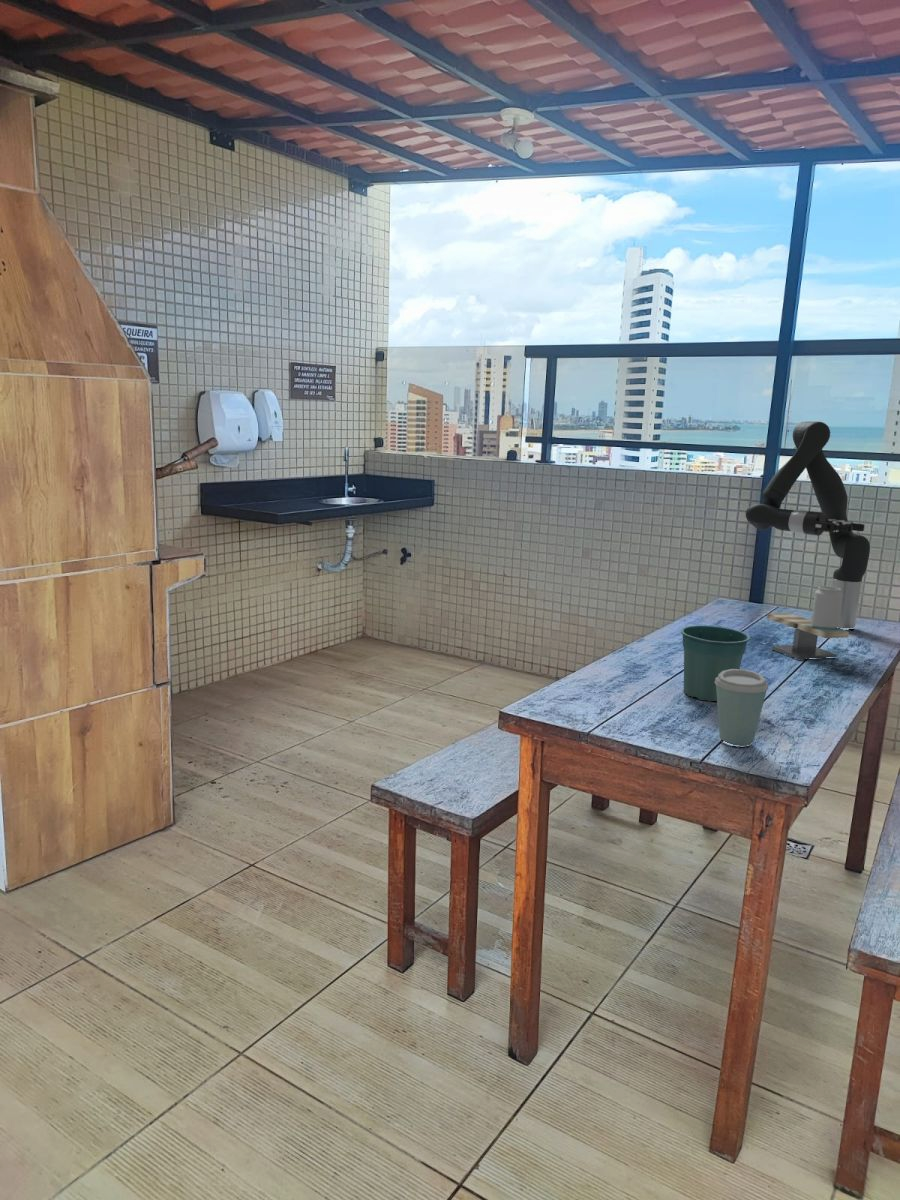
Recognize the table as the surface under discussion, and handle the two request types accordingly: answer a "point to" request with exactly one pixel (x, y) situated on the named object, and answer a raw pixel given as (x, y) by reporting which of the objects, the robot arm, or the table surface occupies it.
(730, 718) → the disposable coffee cup
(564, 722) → the table surface
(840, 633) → the beam
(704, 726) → the table surface
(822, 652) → the stand
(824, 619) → the can
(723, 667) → the flower pot
